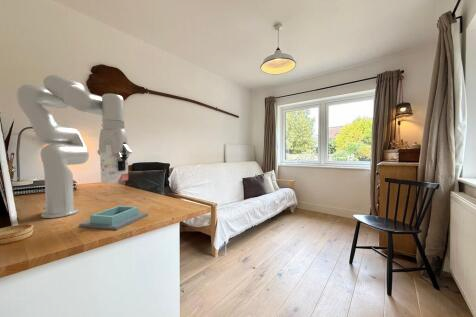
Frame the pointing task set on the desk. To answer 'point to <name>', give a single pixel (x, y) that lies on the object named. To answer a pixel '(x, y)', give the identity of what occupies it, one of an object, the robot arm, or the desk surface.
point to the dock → (114, 218)
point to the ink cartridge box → (112, 167)
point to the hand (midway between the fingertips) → (114, 170)
